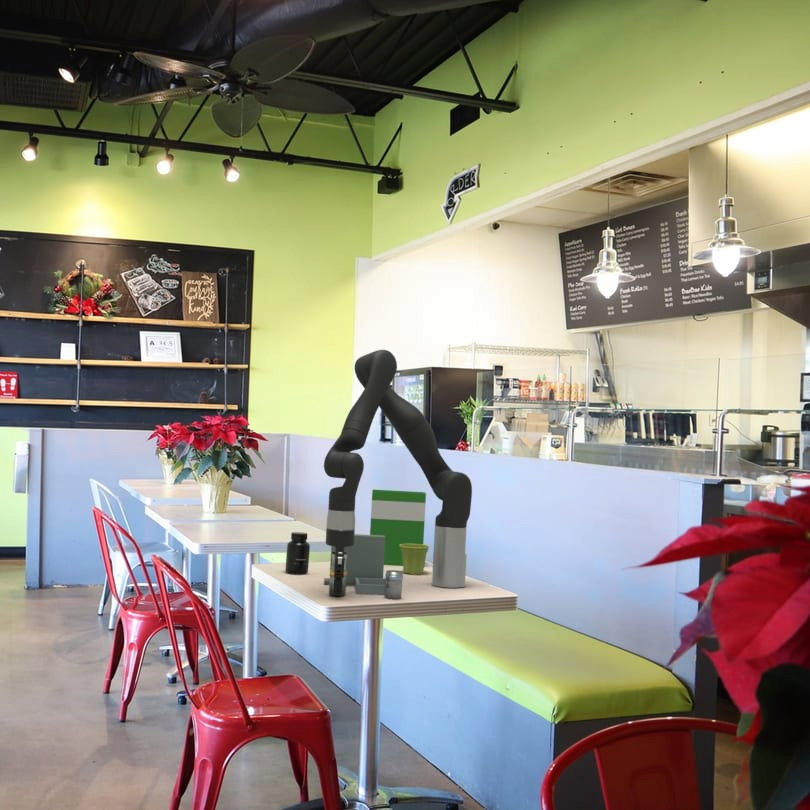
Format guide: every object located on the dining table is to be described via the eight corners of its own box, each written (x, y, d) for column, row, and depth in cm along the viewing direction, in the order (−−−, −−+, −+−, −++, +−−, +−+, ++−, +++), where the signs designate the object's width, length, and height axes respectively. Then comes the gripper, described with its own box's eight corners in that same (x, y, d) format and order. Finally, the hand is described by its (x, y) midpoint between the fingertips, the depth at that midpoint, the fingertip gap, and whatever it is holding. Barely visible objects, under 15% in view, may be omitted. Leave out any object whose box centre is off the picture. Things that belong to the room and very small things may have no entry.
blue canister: (400, 596, 246) (402, 570, 246) (402, 600, 242) (403, 573, 242) (383, 596, 246) (385, 569, 246) (385, 599, 241) (386, 572, 241)
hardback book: (368, 564, 301) (372, 490, 301) (368, 560, 308) (372, 489, 309) (422, 567, 301) (426, 493, 302) (421, 563, 308) (425, 492, 309)
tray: (393, 588, 259) (394, 579, 259) (397, 595, 248) (397, 586, 248) (354, 586, 258) (355, 577, 258) (356, 593, 247) (357, 584, 247)
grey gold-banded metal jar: (345, 592, 245) (346, 566, 246) (346, 596, 241) (347, 569, 241) (328, 592, 245) (329, 565, 245) (328, 595, 240) (330, 568, 240)
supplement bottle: (299, 575, 271) (301, 535, 271) (280, 572, 274) (283, 532, 274) (312, 573, 277) (314, 533, 277) (294, 570, 280) (296, 530, 280)
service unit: (386, 584, 265) (389, 535, 265) (388, 587, 260) (390, 537, 260) (324, 581, 263) (326, 532, 263) (324, 584, 258) (327, 534, 258)
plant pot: (401, 575, 281) (403, 547, 282) (395, 570, 291) (396, 543, 291) (431, 576, 284) (432, 547, 284) (423, 571, 293) (425, 543, 293)
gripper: (326, 523, 250) (322, 586, 250) (326, 529, 236) (323, 596, 235) (353, 524, 251) (350, 587, 250) (356, 531, 236) (352, 597, 236)
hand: (337, 591), depth 243 cm, fingers closed on grey gold-banded metal jar, 4 cm apart
